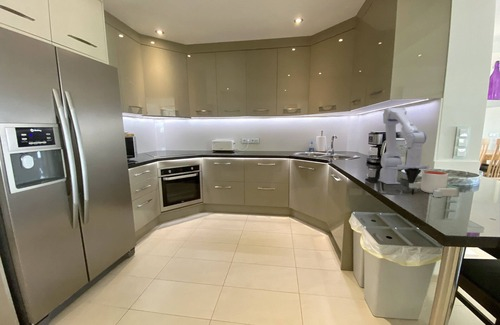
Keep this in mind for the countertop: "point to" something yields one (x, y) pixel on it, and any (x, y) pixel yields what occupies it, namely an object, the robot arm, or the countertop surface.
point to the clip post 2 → (437, 193)
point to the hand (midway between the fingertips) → (410, 183)
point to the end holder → (444, 190)
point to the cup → (433, 181)
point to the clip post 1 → (412, 185)
